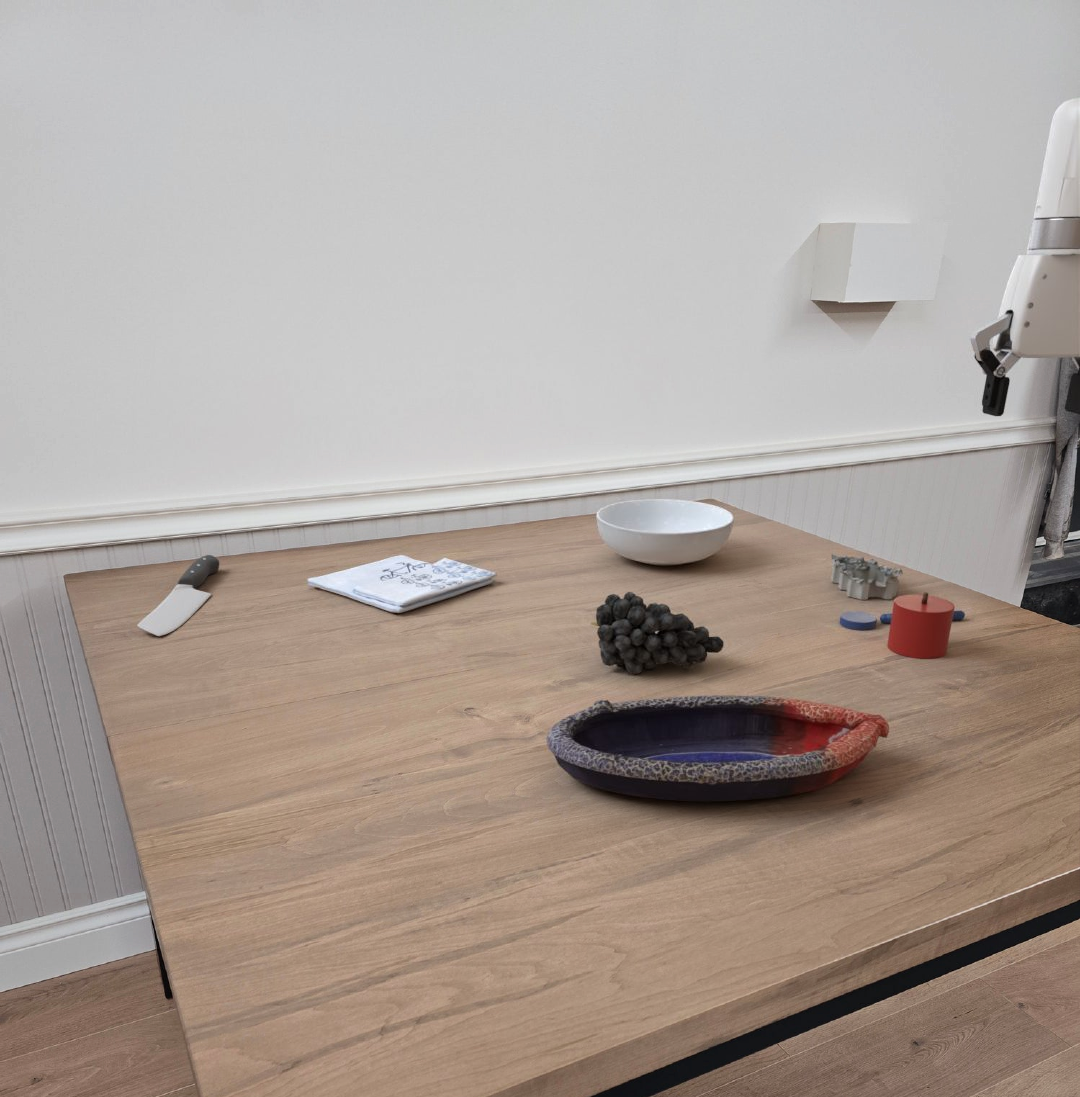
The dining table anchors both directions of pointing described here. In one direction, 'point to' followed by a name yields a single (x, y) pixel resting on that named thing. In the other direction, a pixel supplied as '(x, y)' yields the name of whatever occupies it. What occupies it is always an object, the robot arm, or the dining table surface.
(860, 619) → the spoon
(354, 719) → the dining table surface
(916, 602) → the red stemmed cylinder
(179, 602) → the kitchen knife
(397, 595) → the folded tea towel
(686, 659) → the fruit
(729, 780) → the dish
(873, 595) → the egg carton
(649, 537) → the serving bowl
